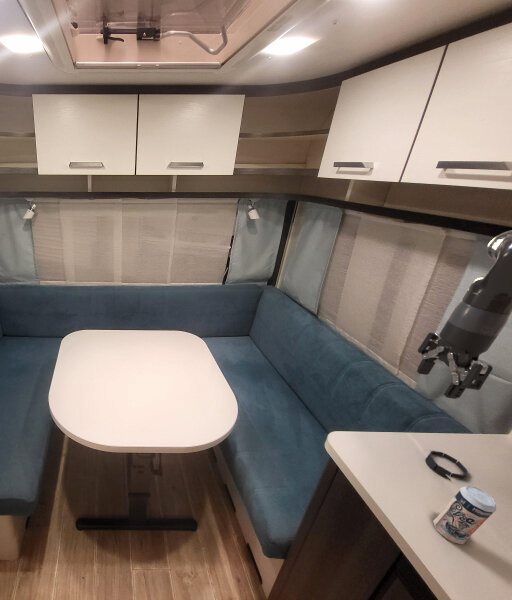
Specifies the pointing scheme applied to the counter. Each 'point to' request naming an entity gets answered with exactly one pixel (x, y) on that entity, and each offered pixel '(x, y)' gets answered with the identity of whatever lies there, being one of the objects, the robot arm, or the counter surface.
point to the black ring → (441, 470)
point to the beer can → (464, 514)
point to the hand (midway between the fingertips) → (435, 384)
